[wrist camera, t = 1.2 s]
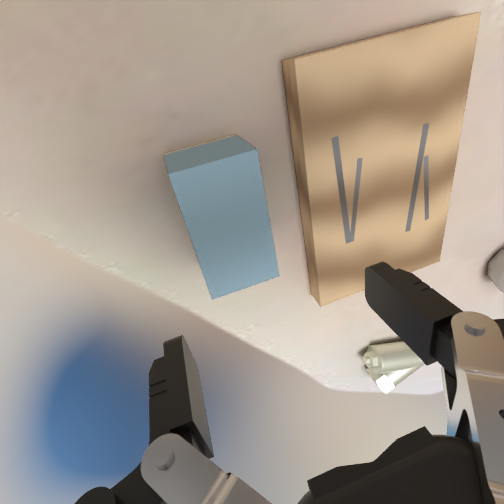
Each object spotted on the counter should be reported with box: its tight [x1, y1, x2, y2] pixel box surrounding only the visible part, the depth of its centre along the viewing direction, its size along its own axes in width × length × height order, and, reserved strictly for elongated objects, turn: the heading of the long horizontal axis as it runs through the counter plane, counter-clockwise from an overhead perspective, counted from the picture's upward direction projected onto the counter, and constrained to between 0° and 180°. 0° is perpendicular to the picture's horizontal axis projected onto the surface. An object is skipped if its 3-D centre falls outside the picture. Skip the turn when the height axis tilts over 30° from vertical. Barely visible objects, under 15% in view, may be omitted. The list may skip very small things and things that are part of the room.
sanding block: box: [163, 134, 280, 300], centre depth 21 cm, size 9×5×5 cm, turn 11°
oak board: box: [282, 12, 481, 307], centre depth 25 cm, size 20×13×2 cm, turn 12°
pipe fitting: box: [362, 341, 425, 394], centre depth 38 cm, size 8×4×7 cm
